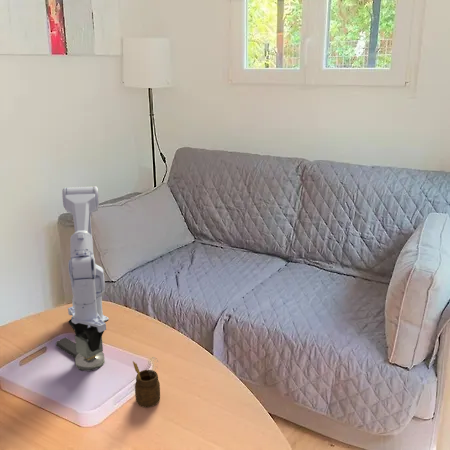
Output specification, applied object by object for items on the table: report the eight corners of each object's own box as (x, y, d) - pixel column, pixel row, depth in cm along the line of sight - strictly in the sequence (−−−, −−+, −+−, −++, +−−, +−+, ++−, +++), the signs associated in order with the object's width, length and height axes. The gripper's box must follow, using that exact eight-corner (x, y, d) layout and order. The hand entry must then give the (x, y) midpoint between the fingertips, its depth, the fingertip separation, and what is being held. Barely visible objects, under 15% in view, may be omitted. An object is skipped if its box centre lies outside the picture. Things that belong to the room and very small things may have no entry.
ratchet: (49, 348, 145) (47, 335, 144) (72, 338, 150) (71, 325, 149) (86, 374, 134) (85, 359, 132) (110, 362, 139) (109, 348, 138)
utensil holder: (165, 400, 123) (164, 357, 120) (143, 412, 119) (141, 367, 116) (151, 389, 128) (149, 347, 124) (129, 400, 123) (127, 357, 120)
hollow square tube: (76, 351, 137) (74, 335, 136) (92, 344, 141) (90, 328, 139) (87, 358, 134) (85, 342, 133) (102, 351, 138) (101, 334, 136)
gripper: (56, 296, 135) (60, 342, 139) (87, 314, 125) (91, 362, 130) (79, 288, 140) (83, 332, 144) (111, 304, 130) (114, 351, 135)
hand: (88, 346), depth 137 cm, fingers closed on hollow square tube, 5 cm apart
